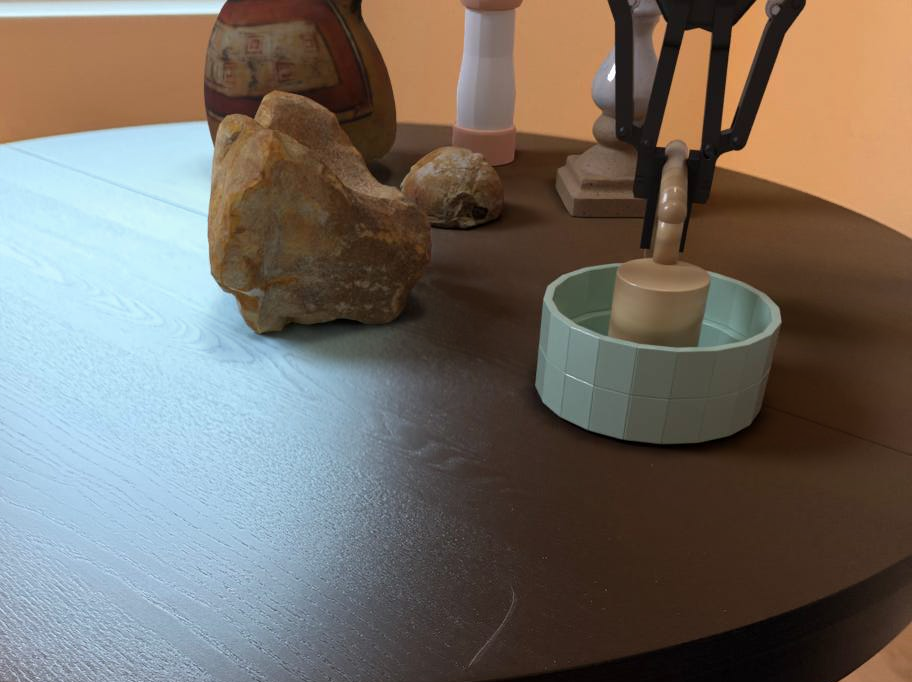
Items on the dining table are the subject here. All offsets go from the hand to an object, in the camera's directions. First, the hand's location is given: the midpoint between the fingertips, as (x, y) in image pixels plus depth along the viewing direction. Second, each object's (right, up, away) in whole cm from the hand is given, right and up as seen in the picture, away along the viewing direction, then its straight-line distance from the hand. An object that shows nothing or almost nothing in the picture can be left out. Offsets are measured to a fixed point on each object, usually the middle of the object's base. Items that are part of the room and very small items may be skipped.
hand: (662, 244), depth 78 cm
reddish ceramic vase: (-32, +21, +35) cm, 52 cm away
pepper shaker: (-12, +26, +42) cm, 51 cm away
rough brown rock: (-26, -3, +5) cm, 27 cm away
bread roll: (-16, +13, +25) cm, 32 cm away
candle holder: (+2, +16, +30) cm, 34 cm away
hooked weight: (-1, -6, -3) cm, 6 cm away
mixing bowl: (-3, -14, -7) cm, 15 cm away
